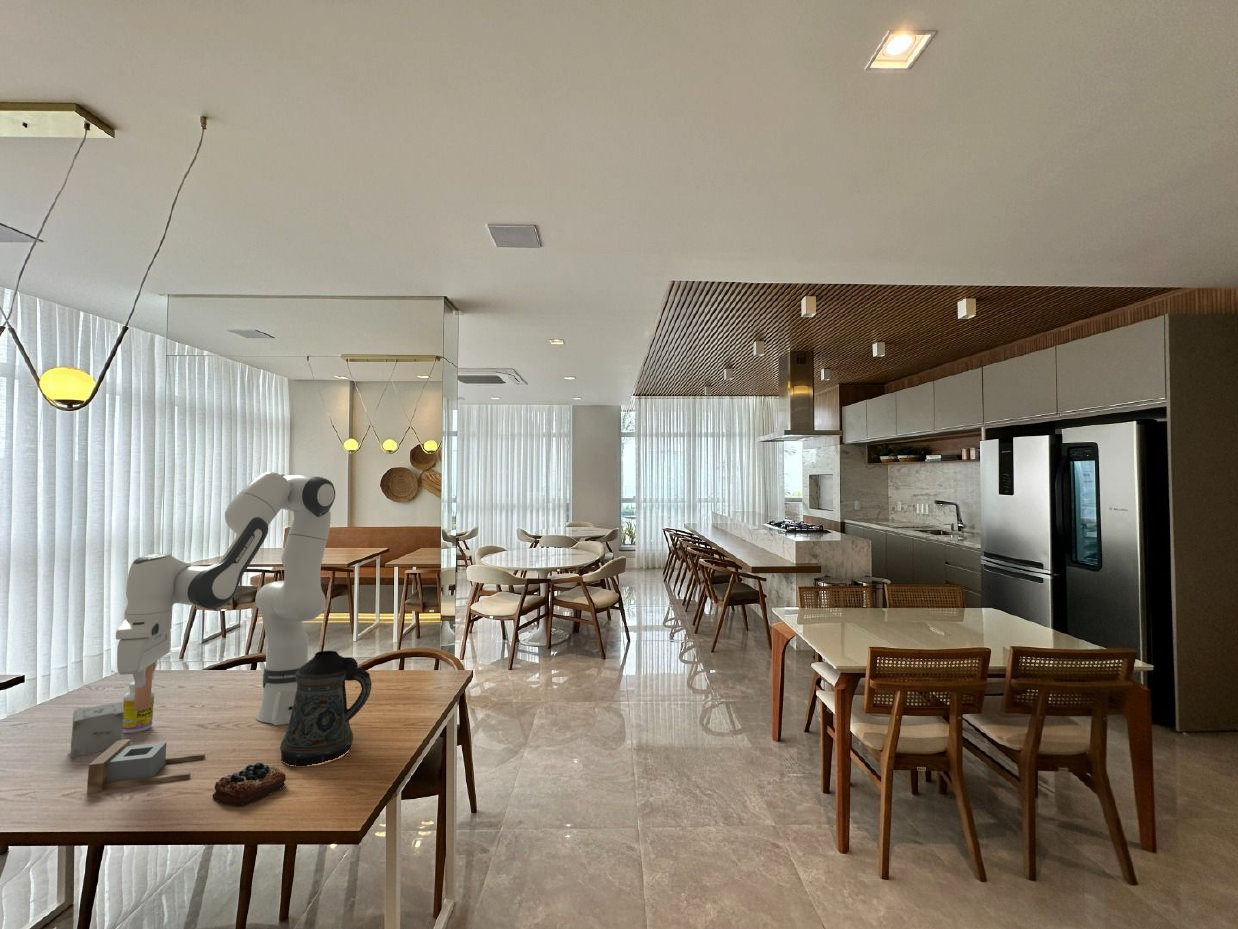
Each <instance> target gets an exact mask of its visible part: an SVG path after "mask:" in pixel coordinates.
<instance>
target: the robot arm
mask: <svg viewBox="0 0 1238 929" xmlns="http://www.w3.org/2000/svg"><path fill="white" fill-rule="evenodd" d="M335 499H336V489H335V486H334V483H333V482H332V481H331V480H329V479H327V478H324V477H322V476H313V475H307V474H288V475H287V474H280V473H277V472H273V471H266V472H263V473H261V474H259V475H258V476H256V478H254V479H253V480H252V481H250V482H249V483H248V484H247V485H246V486H245V487H244V488H243V489H242V490H241V491H240V492H239V493H238V494H237V495H236V496H235V497H234V498H233V499H232V501H230V503H229V505H228V506H227V508H226V510H225V511H224V520H225V523H226V524H227V526H228V527H229V528H230V530H231V531H233V532H234V533H235V535H236V536H235V538H234V540H233V541H232V543H231V544H230V545H229V547H228V548H227V550H226V551H225V553H224V554H223V556H222V557H221V558H220V560H219V561H218V562H216V563H213V564H212V565H207V566H205V565H204V566H203V565H198V564H197V565H196V564H192V563H188V562H185V561H182V560H180V559H177V558H176V557H174V556H173V555H172V553H167V552H163V553H162V552H160V553H152V554H146V555H142V556H140V557H138V558H136V559H134V560H133V561H132V563H131V565H130V567H129V570H128V574H127V580H126V591H125V596H126V599H127V604H126V607H125V609H124V615H123V616H124V618H123V620H122V623H121V625H120V626H119V627H118V628H117V630H116V632H115V639H116V640H119V641H118V642H117V649H116V650H117V651H116V664H117V665H116V669H117V672H118V673H119V675H120V676H122V675H123V676H124V675H126V676H127V675H132V676H133V679H134V680H133V681H135V684H134V686H135V687H136V688H139V687H143V686H145V685H146V680H147V678H145V672H146V667H148V666H149V665H151V664H152V663H153V674H152V681H153V680H154V678H155V671H156V668H157V666H158V660H161V659H162V658H164V657H165V656H166V655H168V654H169V653H170V651H171V650H170V649H171V629H172V624H173V622H172V621H173V609H174V608H173V606H174V605H175V604H181V605H186V606H196V607H200V608H203V609H208V610H213V609H219V608H222V607H223V606H226V605H227V604H228V603H229V602H231V601H232V599H233V598H234V597H235V595H236V593H237V591H238V588H239V585H240V583H241V580H242V577H243V575H244V574H245V572H246V571H247V569H248V567H249V566H250V564H251V562H253V560H254V558H255V557H256V555H257V554H258V551H259V550H260V548H261V547H262V545H263V543H264V542H265V540H266V538H267V535H268V534H269V526H270V524H271V523H272V521H273V519H275V517H276V516H277V515H278V513H279V512H280V511H281V510H284V511H290V512H292V514H293V520H292V522H291V525H290V528H289V531H288V533H287V538H286V541H285V544H284V548H283V551H282V556H281V563H282V565H283V571H284V579H283V580H278V581H272V582H268V583H266V584H264V585H263V586H261V588H260V589H258V591H257V593H256V597H255V605H256V607H257V609H258V611H259V612H260V615H261V619H262V624H263V627H264V628H263V629H264V632H265V639H266V640H265V641H266V642H265V643H266V653H265V667H264V669H263V672H262V688H263V691H262V697H261V702H260V706H259V709H258V712H257V714H256V720H257V721H258V722H261V723H262V722H263V723H267V724H268V723H269V724H271V725H273V726H281V725H287V724H288V725H289V721H290V718H291V713H292V709H293V704H294V699H295V695H296V690H297V682H296V678H295V674H296V672H297V671H298V670H299V669H300V668H301V667H302V666H303V665H305V664H306V663H307V662H308V661H309V643H310V642H309V641H310V640H309V636H308V633H307V632H306V630H305V628H304V625H303V622H307V621H311V620H315V619H316V618H318V617H319V616H320V615H321V614H322V613H323V611H324V609H325V607H326V600H327V599H326V595H325V593H324V591H323V589H322V582H321V581H322V580H321V568H322V562H323V558H324V554H325V550H326V546H327V542H328V538H329V534H330V528H331V518H332V517H331V516H332V515H331V514H332V512H331V510H330V509H331V508H332V506H333V504H334V502H335Z"/></svg>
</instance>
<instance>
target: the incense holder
mask: <svg viewBox="0 0 1238 929" xmlns="http://www.w3.org/2000/svg"><path fill="white" fill-rule="evenodd" d="M123 702H124V701H119V702H118V701H117V702H112V703H108V704H101V705H100V704H99V705H95V706H90V707H89V706H88V707H81V708H77V709H76V708H75V709H74V711H73V713H72V715H73V717H72V730H71V739H70V753H69V754H70V755H69V759H76V758H79V757H82V756H84V755H90V754H95V753H99V752H104V751H106V750H107V749H108V748H109V747H110V746H112V745H113V744H114V743H115V742H116V741H118V740H123V720H124V708H123Z"/></svg>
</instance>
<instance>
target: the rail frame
mask: <svg viewBox="0 0 1238 929" xmlns="http://www.w3.org/2000/svg"><path fill="white" fill-rule="evenodd" d="M126 746H131V738H130V739H129V738H127V739H122V740H118V741H116V742H115V743H114V744H113V745H112V746H110V747H109V748H108V749H107V750H104V751H102V753H101V754H100V755H99V756H98V757H96V758H95V759H94V760H92V762H90V763H89V764H88V772H87V783H86V784H87V787H86V794H93V793H100V792H101V793H102V791H104V790H109V789H117V788H126V787H133V786H141V785H148V784H157V783H164V782H172V781H173V782H174V781H181V780H188V779H190V778H191V772H190V771H189V772H181V773H174V774H165V775H158V776H156V775H155V776H154V777H148V778H140V779H132V780H124V781H116V782H108V783H107V773H108V762H109V761H110V760H111V759H112V758H114V757H115V756H116V755H117V754H118V753H119V752H120V751H121V750H122V749H124V748H125V747H126ZM205 758H206V753H205V752H203V753H194V754H187V755H177V756H169V757H166V759H165V764H166V765H167V764H173V763H181V762H182V763H183V762H189V761H196V760H197V761H199V760H204V759H205ZM165 764H164V765H165Z"/></svg>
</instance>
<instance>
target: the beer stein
mask: <svg viewBox="0 0 1238 929" xmlns="http://www.w3.org/2000/svg"><path fill="white" fill-rule="evenodd" d="M358 666H359V665H358V662H357V660H356V658H354V657H349V656H348V657H344V656H342V655H340V654H339V653H338V651H335V650H323V651H318V652H316V653H315V654H314V656H313V657H312V658H311V659H309V660H308V662H307V663H306V664H305V665H303V666H302V667H301V668H300V669H299V670H298V671H297V672H296V674H295V678H296V682H297V690H296V695H295V699H294V704H293V709H292V713H291V718H290V721H289V724H288V726H287V729H286V732H285V734H284V737H283V739H282V741H281V743H280V745H279V746H280V747H279V748H280V762H281V761H283V762H285V763H287V764H289V765H294V766H295V765H296V766H307V765H312V764H318V763H322V762H325V761H328V760H333V759H335V758H338V757H339V756H341V755H343V754H345V753H346V752H347V751H348V750H349V749H350V750H351V748H350V747H352V744H353V740H354V733H353V730H352V728H351V725H350V721H351V720H352V718H354V717H355V716H356V715H357V714H358V713H359V712H360V710H361V709H362V708H363V707H364V705H365V704H366V703H367V701H368V699H369V698H370V696H371V691H372V678H371V674H370V672H368V671H366V670H365V669H364V668H362V667H358ZM346 681H347V682H348V681H350V682H351V681H356V682H358V683H359V684H360V687H361V690H360V693H359V695H358V696H357V698H356V700H355V701H354V702H353V704H352V705H351V706H350V707H349V708H348V701H347V691H346V690H347V689H346ZM283 762H282V763H283Z"/></svg>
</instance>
